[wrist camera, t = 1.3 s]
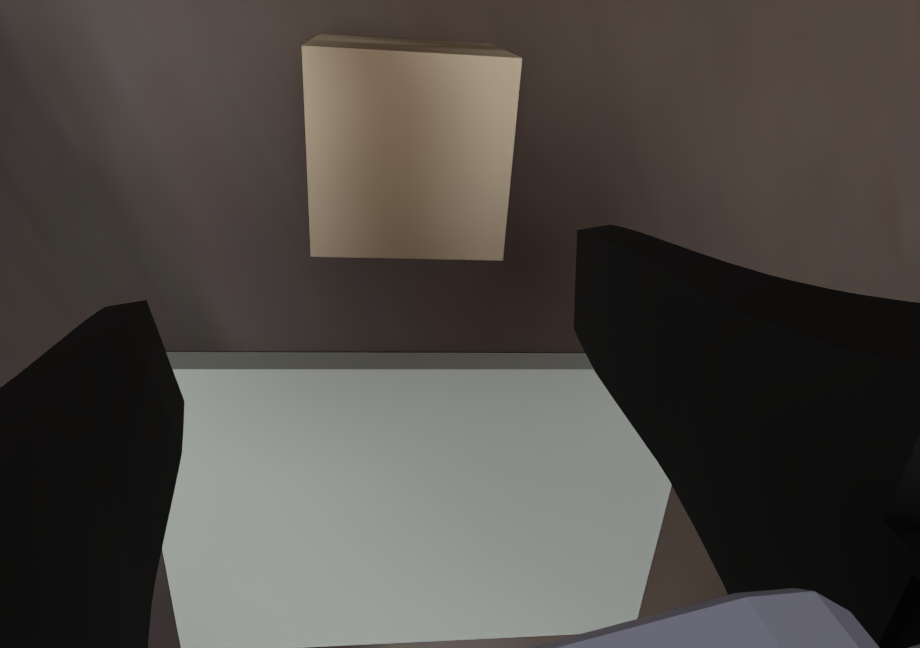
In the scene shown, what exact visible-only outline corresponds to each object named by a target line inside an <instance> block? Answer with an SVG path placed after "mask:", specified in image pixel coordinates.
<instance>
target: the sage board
mask: <svg viewBox="0 0 920 648" xmlns="http://www.w3.org/2000/svg"><path fill="white" fill-rule="evenodd" d="M166 354H167V356H168V359H169V362H170V364H171V367H172V370H173V372H174V375H175V378H176V380H177V383H178V386H179V388H180V391H181V394H182V396H183V399H184V427H183V443H182V455H181V460H180V465H179V470H178V475H177V480H176V485H175V490H174V495H173V499H172V504H171V508H170V513H169V518H168V522H167V527H166V532H165V536H164V541H163V545H162V551H163V556H164V561H165V566H166V572H167V577H168V582H169V588H170V593H171V598H172V603H173V609H174V614H175V619H176V625H177V630H178V635H179V640H180V646H181V648H304V647H324V646H345V645H365V644H386V643H407V642H427V641H448V640H469V639H489V638H510V637H530V636H551V635H572V634H582V633H586V632H590V631H594V630H598V629H601V628H605V627H609V626H613V625H616V624H620V623H624V622H628V621H632V620H635V619H637V617H638V614H639V610H640V606H641V602H642V598H643V594H644V590H645V586H646V583H647V579H648V575H649V571H650V567H651V563H652V559H653V555H654V552H655V548H656V544H657V540H658V536H659V532H660V528H661V524H662V521H663V517H664V513H665V509H666V505H667V501H668V497H669V494H670V490H671V486H672V484H671V483H670V481H669V479H668V478H667V476H666V475H665V473H664V471H663V470H662V468H661V467H660V465H659V463H658V462H657V460H656V459H655V457H654V456H653V455H652V453H651V452H650V450H649V449H648V448H647V446H646V445H645V443H644V442H643V440H642V439H641V438H640V436H639V435H638V433H637V432H636V430H635V429H634V428H633V426H632V425H631V423H630V422H629V420H628V419H627V418H626V416H625V415H624V413H623V412H622V410H621V409H620V408H619V406H618V405H617V403H616V402H615V400H614V399H613V398H612V396H611V395H610V393H609V392H608V390H607V389H606V387H605V386H604V384H603V383H602V381H601V380H600V378H599V377H598V375H597V374H596V372H595V371H594V369H593V367H592V365H591V363H590V361H589V359H588V357H587V355H586V353H370V352H166Z"/></svg>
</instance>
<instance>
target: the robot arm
mask: <svg viewBox="0 0 920 648" xmlns="http://www.w3.org/2000/svg"><path fill="white" fill-rule="evenodd" d="M574 330H575V332H576V334H577V336H578V338H579V340H580V343H581V345H582V347H583V349H584V351H585V353H586V355H587V357H588V359H589V361H590V363H591V365H592V367H593V369H594V371H595V372H596V374H597V375H598V377H599V378H600V380H601V381H602V383H603V384H604V386H605V387H606V389H607V390H608V392H609V393H610V395H611V396H612V398H613V399H614V400H615V402H616V403H617V405H618V406H619V408H620V409H621V410H622V412H623V413H624V415H625V416H626V418H627V419H628V420H629V422H630V423H631V425H632V426H633V428H634V429H635V430H636V432H637V433H638V435H639V436H640V438H641V439H642V440H643V442H644V443H645V445H646V446H647V448H648V449H649V450H650V452H651V453H652V455H653V456H654V457H655V459H656V460H657V462H658V463H659V465H660V467H661V468H662V470H663V471H664V473H665V475H666V476H667V478H668V479H669V481H670V483H671V484H672V486H673V488H674V490H675V492H676V494H677V495H678V497H679V499H680V501H681V503H682V505H683V506H684V508H685V510H686V512H687V514H688V516H689V518H690V519H691V521H692V523H693V525H694V527H695V529H696V531H697V533H698V535H699V537H700V539H701V540H702V542H703V544H704V546H705V548H706V550H707V552H708V554H709V556H710V558H711V560H712V562H713V564H714V566H715V568H716V570H717V572H718V574H719V576H720V578H721V580H722V582H723V584H724V586H725V589H726V591H727V593H728V595H726V596H722V597H718V598H715V599H711V600H707V601H703V602H700V603H696V604H692V605H688V606H684V607H681V608H677V609H673V610H669V611H666V612H662V613H658V614H654V615H650V616H647V617H643V618H639V619H635V620H632V621H628V622H624V623H620V624H616V625H613V626H609V627H605V628H601V629H598V630H594V631H590V632H586V633H582V634H579V635H575V636H571V637H567V638H564V639H560V640H556V641H552V642H548V643H545V644H541V645H537V646H533V647H530V648H920V303H915V302H907V301H900V300H893V299H886V298H879V297H873V296H866V295H859V294H854V293H848V292H842V291H837V290H832V289H827V288H823V287H818V286H814V285H809V284H804V283H800V282H795V281H791V280H787V279H783V278H779V277H775V276H771V275H768V274H764V273H761V272H757V271H754V270H751V269H747V268H744V267H740V266H737V265H734V264H731V263H727V262H724V261H721V260H718V259H715V258H712V257H709V256H706V255H703V254H700V253H697V252H695V251H692V250H689V249H686V248H683V247H680V246H678V245H675V244H672V243H669V242H666V241H663V240H660V239H658V238H655V237H652V236H649V235H646V234H643V233H640V232H637V231H634V230H630V229H627V228H623V227H619V226H614V225H606V226H600V227H594V228H588V229H581V230H577V255H576V284H575V312H574ZM183 427H184V399H183V396H182V394H181V391H180V388H179V386H178V383H177V380H176V378H175V375H174V372H173V370H172V367H171V364H170V362H169V359H168V356H167V354H166V351H165V348H164V346H163V343H162V340H161V338H160V335H159V332H158V330H157V327H156V324H155V322H154V319H153V316H152V314H151V311H150V308H149V306H148V303H147V300H145V301H139V302H132V303H126V304H120V305H114V306H108V307H105V308H103V309H101V310H100V311H98V312H97V313H95V314H94V315H92V316H91V317H89V318H88V319H87V320H85V321H84V322H83V323H82V324H80V325H79V326H78V327H76V328H75V329H74V330H73V331H71V332H70V333H69V334H68V335H66V336H65V337H64V338H63V339H62V340H60V341H59V342H58V343H57V344H55V345H54V346H53V347H52V348H50V349H49V350H48V351H47V352H45V353H44V354H43V355H42V356H41V357H39V358H38V359H37V360H36V361H34V362H33V363H32V364H31V365H29V366H28V367H27V368H26V369H24V370H23V371H22V372H21V373H19V374H18V375H17V376H16V377H14V378H13V379H12V380H10V381H9V382H8V383H6V384H5V385H4V386H2V387H1V388H0V648H147V647H148V636H149V626H150V615H151V605H152V598H153V591H154V585H155V579H156V573H157V569H158V564H159V559H160V555H161V550H162V545H163V541H164V536H165V532H166V527H167V522H168V518H169V513H170V508H171V504H172V499H173V495H174V490H175V485H176V480H177V475H178V470H179V465H180V460H181V455H182V443H183Z"/></svg>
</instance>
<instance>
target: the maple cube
mask: <svg viewBox="0 0 920 648" xmlns="http://www.w3.org/2000/svg"><path fill="white" fill-rule="evenodd" d="M302 64H303V88H304V112H305V135H306V159H307V182H308V206H309V230H310V253H311V257H350V258H399V259H449V260H498V261H503V254H504V244H505V233H506V223H507V212H508V202H509V191H510V181H511V171H512V160H513V150H514V139H515V129H516V118H517V108H518V97H519V87H520V76H521V66H522V58H521V57H519V56H516V55H514V54H512V53H510V52H508V51H506V50H504V49H501V48H499V47H497V46H495V45H493V44H486V43H469V42H453V41H436V40H419V39H403V38H386V37H369V36H353V35H336V34H319V35H318V36H316V37H314V38H313V39H311V40H310V41H308V42H306V43H305V44H303V45H302Z"/></svg>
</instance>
